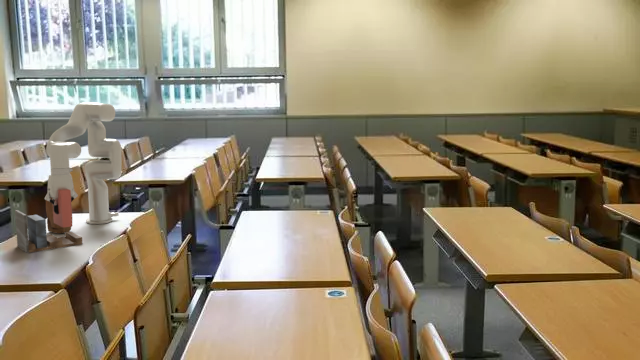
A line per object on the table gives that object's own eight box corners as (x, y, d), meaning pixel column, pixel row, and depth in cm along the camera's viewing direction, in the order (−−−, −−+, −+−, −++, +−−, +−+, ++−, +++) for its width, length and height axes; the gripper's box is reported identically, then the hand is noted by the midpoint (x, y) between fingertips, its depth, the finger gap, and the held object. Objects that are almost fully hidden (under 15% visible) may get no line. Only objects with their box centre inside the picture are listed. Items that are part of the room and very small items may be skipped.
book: (62, 221, 271) (61, 186, 269) (72, 226, 262) (70, 190, 260) (53, 222, 269) (51, 187, 266) (62, 227, 260) (61, 191, 257)
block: (74, 231, 288) (72, 190, 285) (64, 234, 281) (61, 192, 278) (55, 229, 291) (53, 188, 288) (44, 233, 284) (42, 191, 281)
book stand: (71, 237, 276) (69, 203, 273) (82, 244, 266) (80, 208, 263) (17, 246, 261) (14, 209, 258) (26, 253, 251) (24, 215, 248)
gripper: (76, 169, 270) (78, 209, 273) (37, 172, 259) (39, 214, 262) (82, 171, 265) (84, 212, 267) (42, 174, 254) (45, 216, 257)
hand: (62, 212), depth 265 cm, fingers closed on book, 4 cm apart
